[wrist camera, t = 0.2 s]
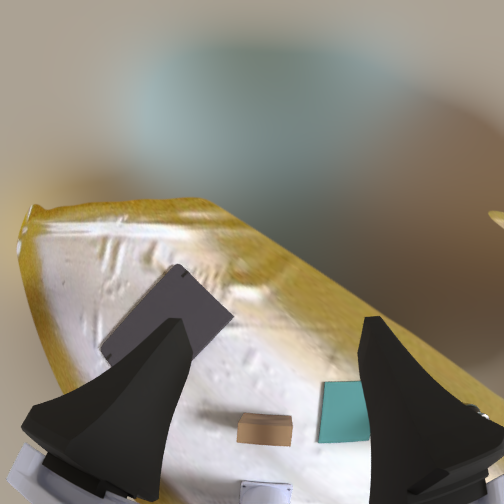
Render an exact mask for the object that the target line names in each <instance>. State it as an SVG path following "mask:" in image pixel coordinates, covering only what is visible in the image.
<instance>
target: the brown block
mask: <svg viewBox="0 0 504 504" xmlns="http://www.w3.org/2000/svg"><path fill="white" fill-rule="evenodd" d="M292 429H293V425H292V417H291V416H283V415H266V414H253V413H244V414H243V415H242V417H241V419H240V420H239V422H238V431H237V442H238V443H247V444H258V445H272V446H291V438H292Z"/></svg>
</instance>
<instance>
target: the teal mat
mask: <svg viewBox="0 0 504 504" xmlns="http://www.w3.org/2000/svg"><path fill="white" fill-rule="evenodd" d="M369 437H370V425H369V419H368V413H367V408H366V403H365V398H364V394H363V389H362V384H361V381H351V382H325V385H324V397H323V407H322V416H321V425H320V433H319V441H318V443H340V442H355V441H367V440H369Z"/></svg>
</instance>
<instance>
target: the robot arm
mask: <svg viewBox="0 0 504 504" xmlns="http://www.w3.org/2000/svg"><path fill="white" fill-rule="evenodd" d="M357 354H358V364H359V373H360V379H361V384H362V389H363V394H364V398H365V403H366V408H367V413H368V419H369V425H370V436H371V486H370V498H369V504H504V474H503V475H501V476H499V477H497V478H495V479H493V480H492V481H490V482H488V483H486V481H485V478H486V477H488V475H489V473H488V467H490V466H491V465H492V464H494V463H495V462H497V461H498V460H499V459H500V458H502V457H503V456H504V427H503V426H501V425H499V424H497V423H495V422H493V421H491V420H489V419H487V418H485V417H483V416H482V415H480V414H478V413H477V412H475V411H474V410H472V409H470V408H469V407H468V406H466V405H465V404H463V403H462V402H461V401H459V400H458V399H457V398H455V397H454V396H453V395H451V394H450V393H449V392H448V391H447V390H445V389H444V388H443V387H442V386H441V385H440V384H439V383H438V382H436V381H435V380H434V379H433V378H432V377H431V376H430V375H429V374H428V373H427V372H426V371H425V370H424V369H423V368H422V366H421V365H420V364H419V363H418V362H417V361H416V360H415V359H414V358H413V357H412V355H411V354H410V353H409V352H408V351H407V349H406V348H405V347H404V346H403V345H402V343H401V342H400V341H399V340H398V338H397V337H396V336H395V335H394V333H393V332H392V331H391V330H390V328H389V327H388V326H387V324H386V323H385V322H384V321H383V319H382V318H381V317H380V316H373V317H365V319H364V324H363V329H362V334H361V339H360V344H359V348H358V353H357ZM192 356H193V350H192V347H191V344H190V341H189V338H188V336H187V333H186V330H185V327H184V323H183V320H182V318H168V319H166V320H165V321H164V322H163V323H162V324H161V325H160V326H159V327H158V328H156V329H155V330H154V331H153V332H152V333H151V334H150V335H149V336H148V337H147V338H146V339H144V340H143V341H142V342H141V343H140V344H139V345H138V346H137V347H136V348H135V349H133V350H132V351H131V352H130V353H129V354H127V355H126V356H125V357H124V358H122V359H121V360H120V361H119V362H118V363H116V364H115V365H114V366H112V367H111V368H110V369H108V370H107V371H106V372H104V373H103V374H101V375H100V376H98V377H97V378H95V379H93V380H92V381H90V382H88V383H86V384H85V385H83V386H81V387H79V388H77V389H76V390H73V391H71V392H69V393H67V394H65V395H63V396H61V397H58V398H55V399H53V400H50V401H47V402H44V403H41V404H38V405H34V406H33V407H32V409H31V410H30V412H29V413H28V415H27V417H26V419H25V420H24V422H23V424H22V426H21V428H22V430H23V431H24V432H25V433H26V434H27V435H28V436H29V437H30V438H31V439H33V440H34V441H35V442H36V443H38V444H39V445H40V446H41V447H42V448H43V449H45V450H46V451H47V452H48V453H47V455H46V456H45V455H43V454H42V453H41V452H39V451H38V450H36V449H35V448H33V447H32V446H30V445H29V444H27V443H24V445H23V446H22V448H21V450H20V452H19V454H18V456H17V458H16V460H15V462H14V464H13V466H12V468H11V470H10V472H9V474H8V476H7V479H6V480H7V482H8V483H10V484H11V485H12V486H13V487H14V488H15V489H16V490H17V491H18V492H19V493H21V494H22V495H23V496H24V497H25V498H26V499H27V500H28V501H29V502H30V503H31V504H139V503H136V502H134V501H131V500H128V499H127V496H129V497H131V498H134V499H136V497H138V498H141V499H144V500H147V501H150V502H153V501H156V500H157V499H159V485H160V475H161V468H162V461H163V455H164V450H165V444H166V440H167V435H168V431H169V427H170V423H171V420H172V417H173V414H174V411H175V408H176V406H177V403H178V400H179V398H180V395H181V393H182V390H183V387H184V385H185V382H186V379H187V376H188V374H189V370H190V366H191V361H192ZM243 485H244V486H246V487H243ZM292 488H293V486H292V485H291V484H273V483H259V482H248V481H242V483H241V490H240V501H239V504H290V500H291V494H292ZM288 489H290V490H288Z"/></svg>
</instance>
